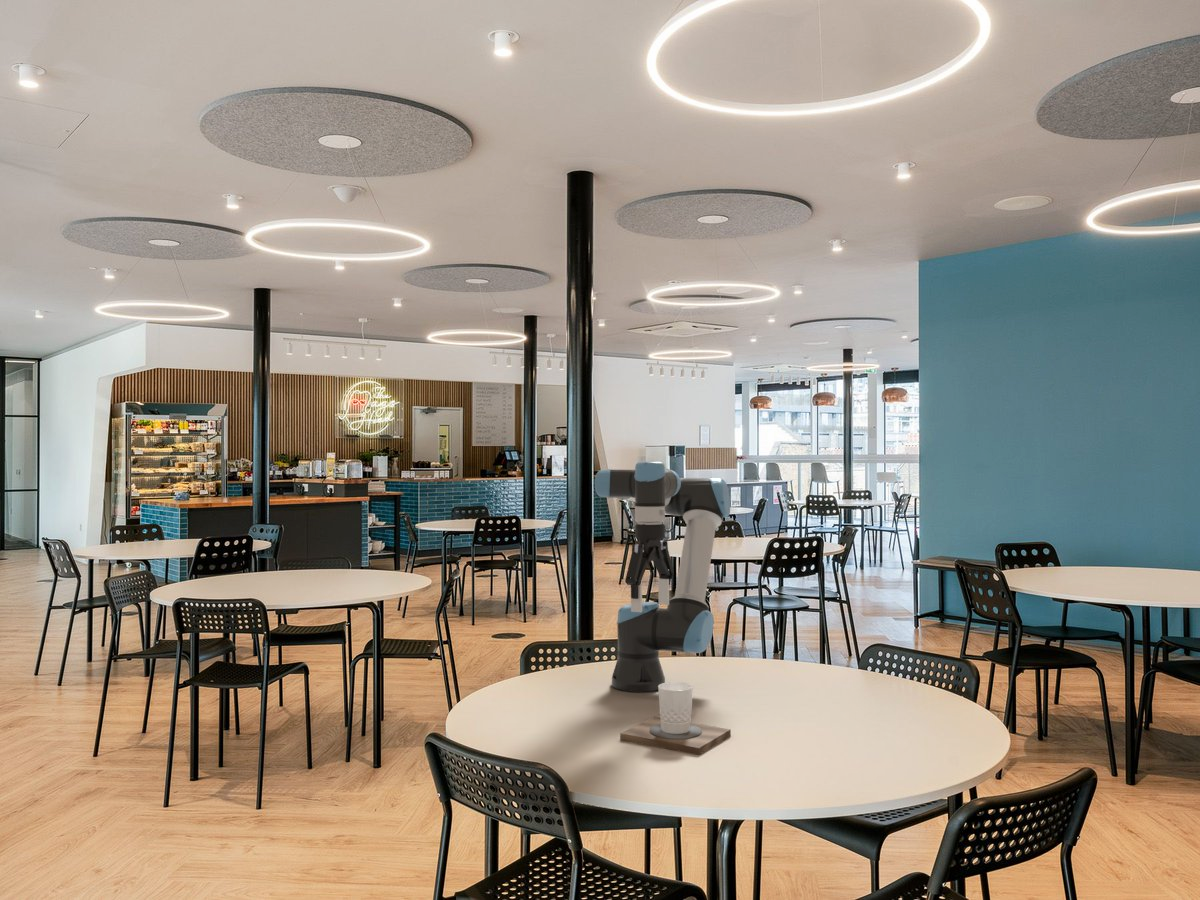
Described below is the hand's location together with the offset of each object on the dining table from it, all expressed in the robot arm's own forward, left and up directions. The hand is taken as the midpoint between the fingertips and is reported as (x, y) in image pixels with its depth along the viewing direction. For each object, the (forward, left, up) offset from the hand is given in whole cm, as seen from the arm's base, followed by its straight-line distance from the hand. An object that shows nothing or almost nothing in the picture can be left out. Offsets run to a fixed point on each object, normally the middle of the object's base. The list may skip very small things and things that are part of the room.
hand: (650, 608), depth 224 cm
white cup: (+13, +14, -25) cm, 32 cm away
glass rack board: (+13, +14, -27) cm, 33 cm away
